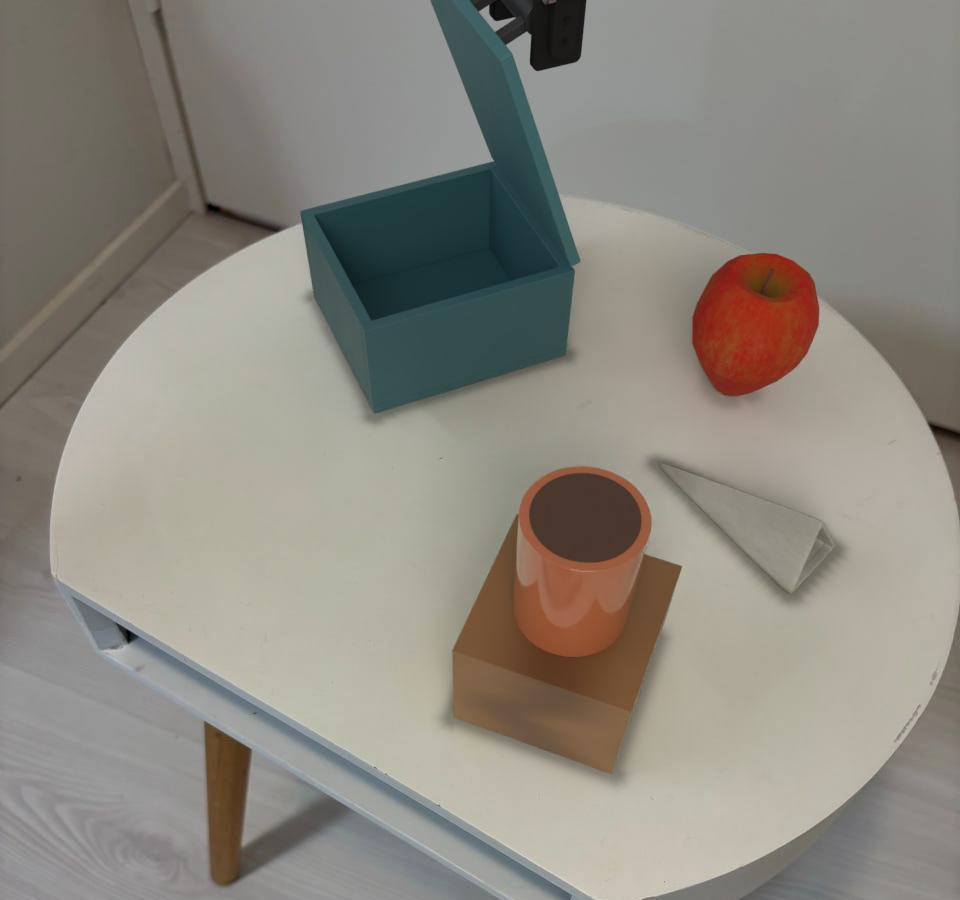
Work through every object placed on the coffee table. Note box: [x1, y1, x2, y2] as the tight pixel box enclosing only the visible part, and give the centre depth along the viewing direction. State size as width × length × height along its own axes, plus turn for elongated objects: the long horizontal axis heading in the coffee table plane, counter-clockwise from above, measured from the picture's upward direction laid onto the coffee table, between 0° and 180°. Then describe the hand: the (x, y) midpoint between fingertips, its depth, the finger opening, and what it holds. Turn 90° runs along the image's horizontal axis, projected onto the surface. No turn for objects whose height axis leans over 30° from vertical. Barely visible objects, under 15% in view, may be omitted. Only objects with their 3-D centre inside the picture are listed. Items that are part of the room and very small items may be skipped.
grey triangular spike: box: [658, 462, 837, 595], centre depth 68 cm, size 6×5×13 cm
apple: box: [691, 252, 820, 397], centre depth 70 cm, size 9×8×11 cm
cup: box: [512, 465, 653, 657], centre depth 51 cm, size 6×6×8 cm
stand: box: [451, 513, 683, 775], centre depth 58 cm, size 10×10×8 cm
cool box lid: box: [429, 0, 581, 268], centre depth 65 cm, size 16×14×5 cm
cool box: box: [299, 160, 576, 414], centre depth 74 cm, size 16×14×8 cm
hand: (534, 36), depth 62 cm, fingers open, 5 cm apart
